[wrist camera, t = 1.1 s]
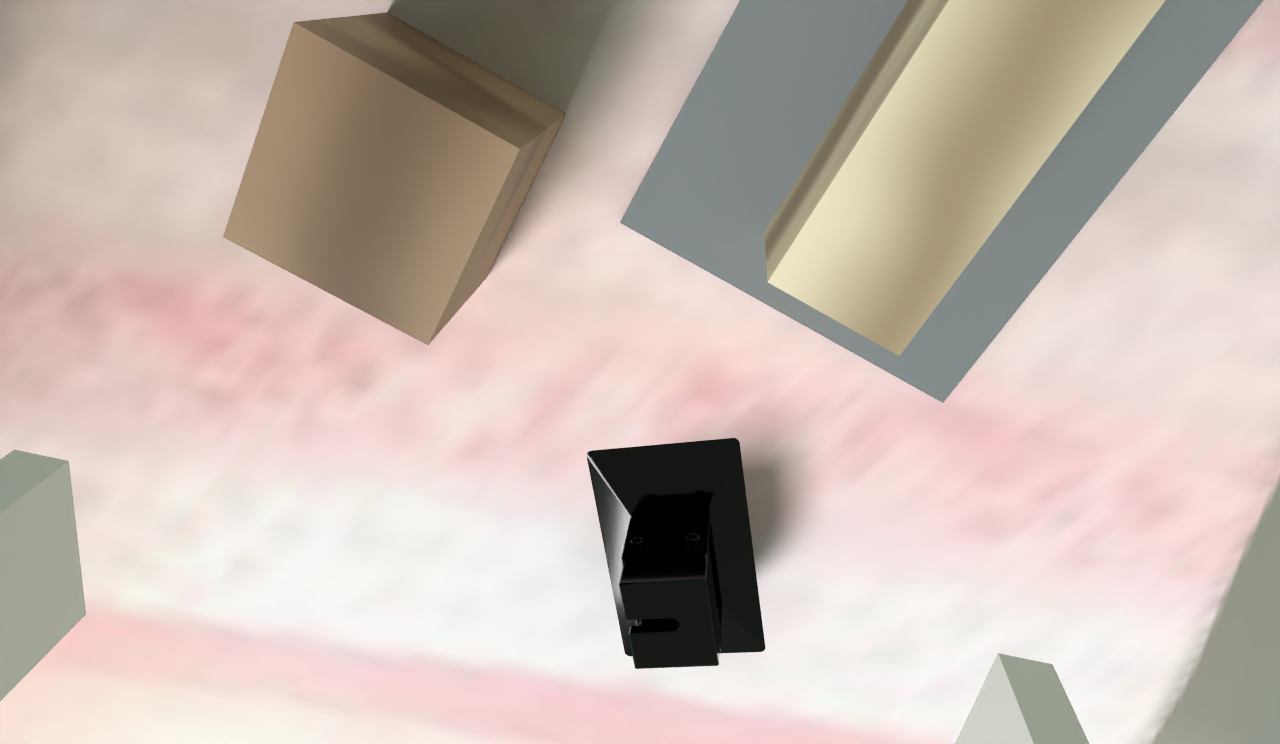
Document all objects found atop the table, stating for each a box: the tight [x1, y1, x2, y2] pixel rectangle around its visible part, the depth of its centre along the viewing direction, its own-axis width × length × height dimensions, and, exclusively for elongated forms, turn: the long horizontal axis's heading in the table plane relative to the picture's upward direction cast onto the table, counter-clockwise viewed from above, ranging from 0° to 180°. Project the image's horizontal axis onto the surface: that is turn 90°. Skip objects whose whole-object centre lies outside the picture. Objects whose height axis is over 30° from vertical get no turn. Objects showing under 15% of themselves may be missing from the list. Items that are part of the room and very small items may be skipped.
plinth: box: [764, 0, 1165, 356], centre depth 23 cm, size 4×12×5 cm, turn 152°
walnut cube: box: [223, 13, 566, 345], centre depth 25 cm, size 6×6×6 cm
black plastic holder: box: [587, 438, 765, 669], centre depth 31 cm, size 12×7×5 cm, turn 9°
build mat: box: [620, 0, 1263, 403], centre depth 25 cm, size 12×16×1 cm
